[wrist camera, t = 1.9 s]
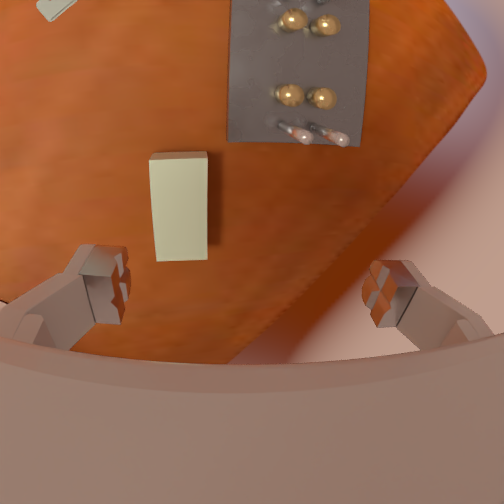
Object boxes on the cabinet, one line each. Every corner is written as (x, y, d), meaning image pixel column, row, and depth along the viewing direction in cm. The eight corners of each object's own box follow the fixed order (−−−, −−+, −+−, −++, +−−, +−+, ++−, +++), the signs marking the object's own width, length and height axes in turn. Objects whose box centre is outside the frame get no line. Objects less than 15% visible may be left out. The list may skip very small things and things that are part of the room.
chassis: (352, 143, 29) (393, 163, 23) (226, 139, 27) (237, 157, 20) (361, 2, 21) (405, -12, 14) (231, -19, 19) (244, -50, 12)
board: (205, 243, 32) (207, 259, 30) (159, 245, 31) (156, 261, 29) (206, 150, 27) (207, 158, 25) (153, 152, 26) (149, 160, 24)
